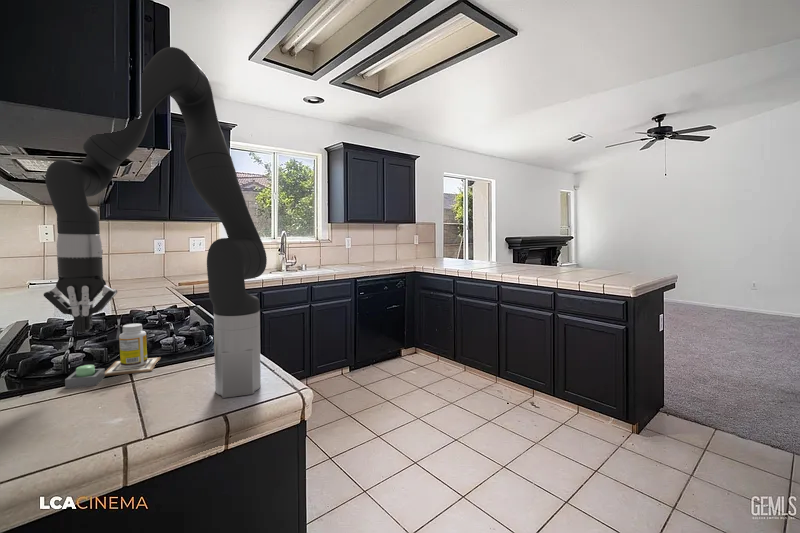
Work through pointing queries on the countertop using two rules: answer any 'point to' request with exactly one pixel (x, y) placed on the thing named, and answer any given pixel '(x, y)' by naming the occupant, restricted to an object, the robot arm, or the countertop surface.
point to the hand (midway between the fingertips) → (83, 331)
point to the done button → (85, 371)
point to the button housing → (84, 379)
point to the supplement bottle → (133, 346)
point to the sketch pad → (118, 369)
